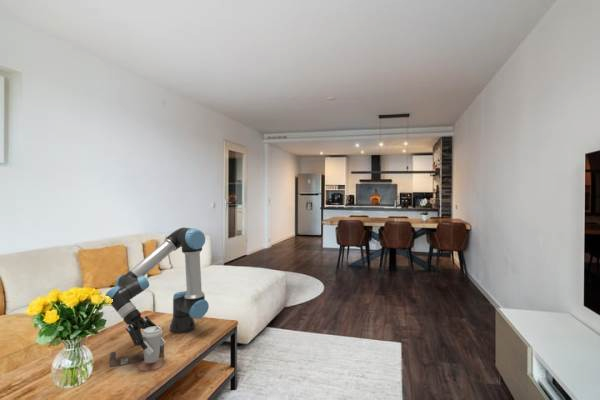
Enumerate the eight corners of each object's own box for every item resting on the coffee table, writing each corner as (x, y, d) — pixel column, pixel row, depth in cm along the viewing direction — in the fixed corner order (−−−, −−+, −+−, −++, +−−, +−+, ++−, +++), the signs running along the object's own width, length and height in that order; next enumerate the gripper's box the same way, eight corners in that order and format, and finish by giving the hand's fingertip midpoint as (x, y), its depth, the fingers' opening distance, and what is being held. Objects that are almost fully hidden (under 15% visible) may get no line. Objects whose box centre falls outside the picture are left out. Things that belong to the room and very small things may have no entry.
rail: (163, 354, 170) (163, 343, 170) (166, 367, 157) (166, 355, 157) (110, 364, 159) (110, 352, 159) (108, 379, 146) (108, 366, 146)
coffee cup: (153, 365, 154) (154, 334, 154) (136, 363, 156) (137, 332, 156) (166, 356, 163) (166, 326, 163) (149, 354, 165) (150, 324, 165)
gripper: (139, 311, 173) (165, 343, 170) (108, 326, 151) (137, 364, 148) (148, 302, 172) (175, 334, 169) (118, 316, 150) (148, 353, 148)
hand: (157, 348), depth 159 cm, fingers closed on coffee cup, 9 cm apart
